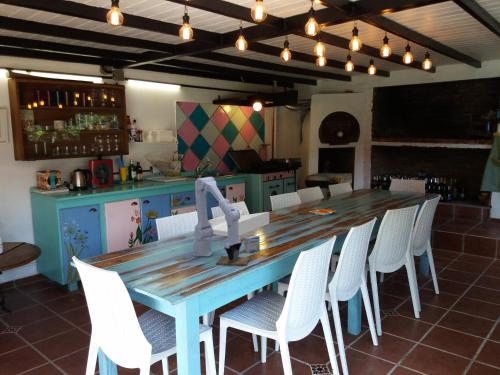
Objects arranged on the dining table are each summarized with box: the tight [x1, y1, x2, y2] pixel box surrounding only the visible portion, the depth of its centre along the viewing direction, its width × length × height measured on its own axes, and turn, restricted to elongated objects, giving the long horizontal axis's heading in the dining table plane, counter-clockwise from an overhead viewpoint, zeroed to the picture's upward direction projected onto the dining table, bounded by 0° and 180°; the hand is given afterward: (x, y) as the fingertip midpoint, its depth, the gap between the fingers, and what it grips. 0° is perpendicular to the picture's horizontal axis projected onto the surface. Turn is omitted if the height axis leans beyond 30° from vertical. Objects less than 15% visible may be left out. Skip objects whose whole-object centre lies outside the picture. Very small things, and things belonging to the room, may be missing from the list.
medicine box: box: [243, 234, 261, 254], centre depth 233 cm, size 8×4×9 cm, turn 126°
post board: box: [215, 255, 251, 267], centre depth 215 cm, size 16×12×5 cm
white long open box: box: [208, 208, 270, 237], centre depth 289 cm, size 45×22×10 cm, turn 148°
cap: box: [228, 249, 240, 262], centre depth 215 cm, size 5×5×6 cm
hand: (233, 257), depth 215 cm, fingers closed on cap, 6 cm apart
